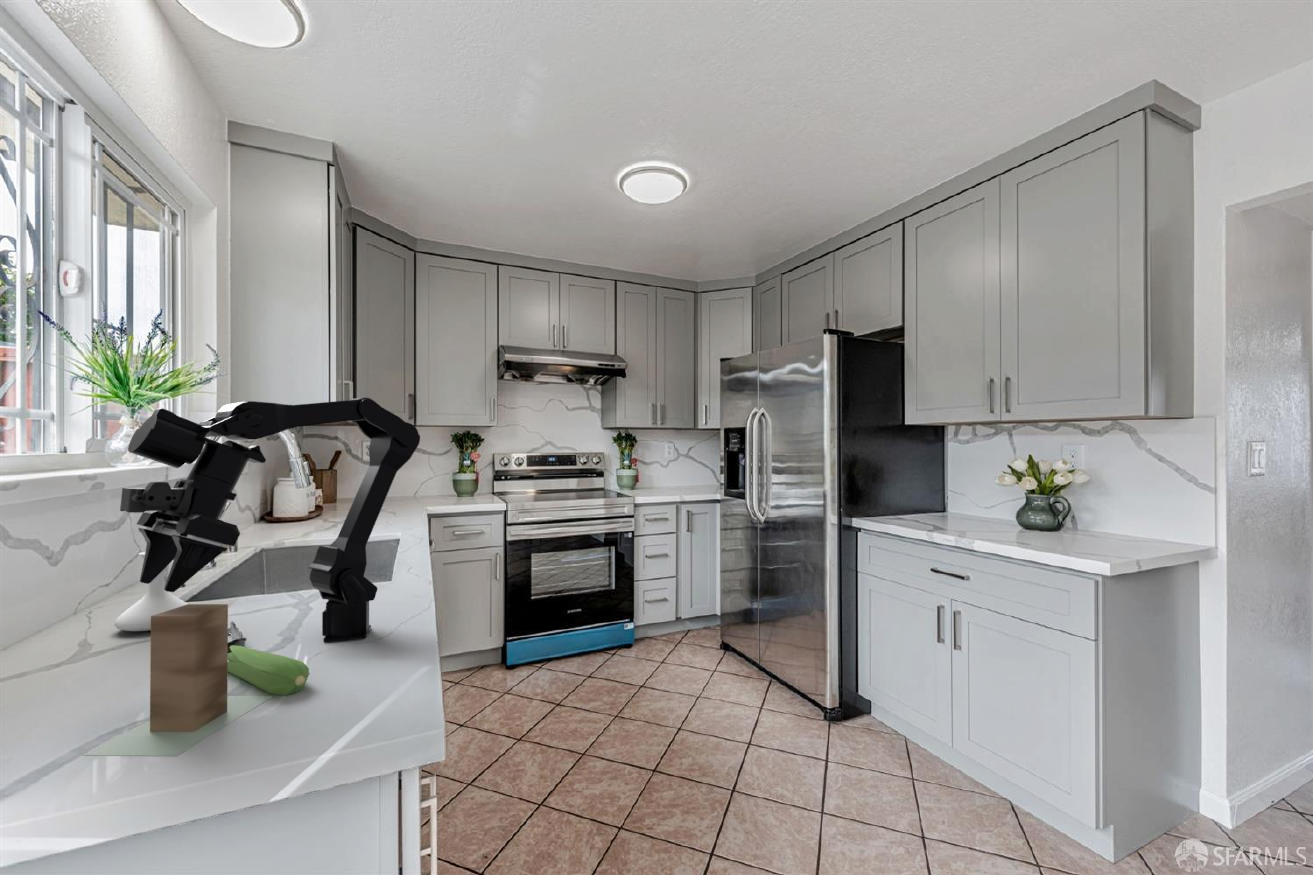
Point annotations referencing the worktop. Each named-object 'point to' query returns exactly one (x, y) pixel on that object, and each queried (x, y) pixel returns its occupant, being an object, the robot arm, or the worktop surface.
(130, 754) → the sage board
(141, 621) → the flower in vase
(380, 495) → the robot arm
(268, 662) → the green zucchini
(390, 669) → the worktop surface
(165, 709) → the walnut post
